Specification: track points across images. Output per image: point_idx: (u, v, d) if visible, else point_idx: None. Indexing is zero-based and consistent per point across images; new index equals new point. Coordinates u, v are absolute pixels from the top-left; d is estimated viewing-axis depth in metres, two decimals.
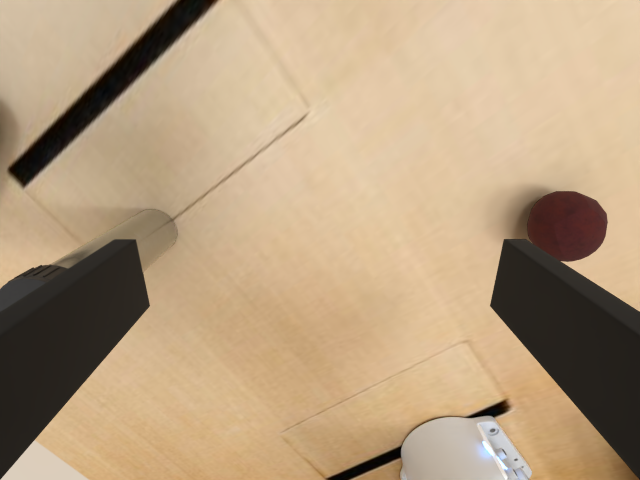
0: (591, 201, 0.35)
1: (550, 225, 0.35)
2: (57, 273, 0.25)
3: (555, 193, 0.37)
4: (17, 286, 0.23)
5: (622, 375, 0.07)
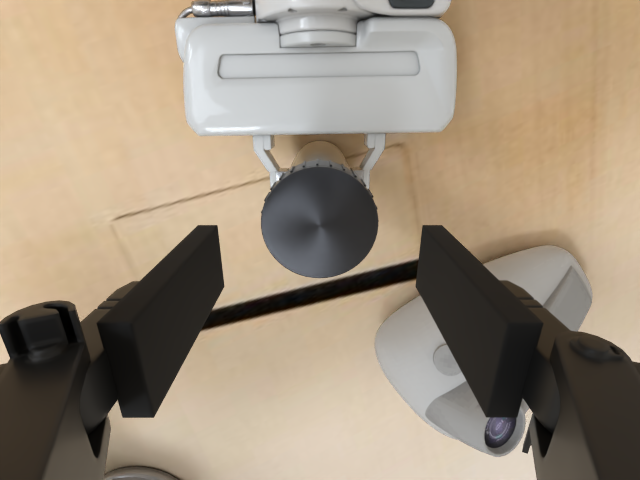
0: None
1: None
2: None
3: None
4: (316, 270, 0.18)
5: (478, 331, 0.09)
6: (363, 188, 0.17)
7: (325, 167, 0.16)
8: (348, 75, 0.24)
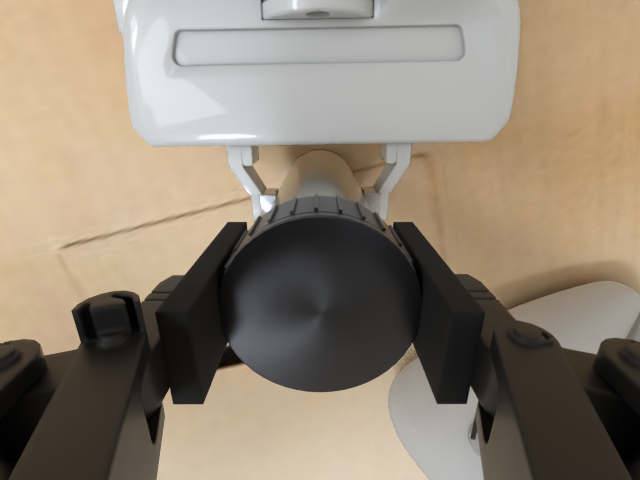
0: None
1: None
2: None
3: None
4: (315, 380, 0.11)
5: (431, 322, 0.09)
6: (399, 252, 0.09)
7: (330, 216, 0.09)
8: (360, 60, 0.17)
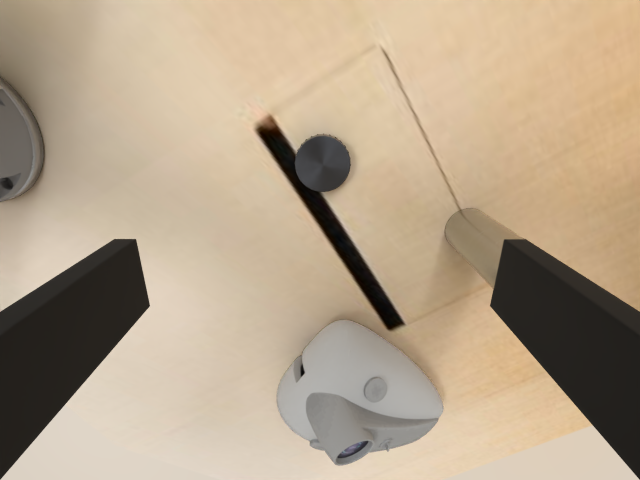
0: None
1: None
2: None
3: None
4: (344, 172, 0.37)
5: (622, 375, 0.07)
6: (311, 139, 0.36)
7: (297, 153, 0.37)
8: None
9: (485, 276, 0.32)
